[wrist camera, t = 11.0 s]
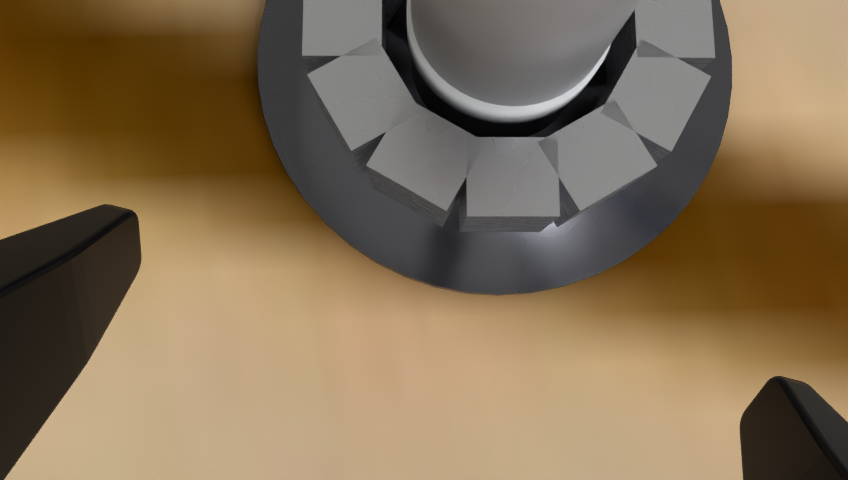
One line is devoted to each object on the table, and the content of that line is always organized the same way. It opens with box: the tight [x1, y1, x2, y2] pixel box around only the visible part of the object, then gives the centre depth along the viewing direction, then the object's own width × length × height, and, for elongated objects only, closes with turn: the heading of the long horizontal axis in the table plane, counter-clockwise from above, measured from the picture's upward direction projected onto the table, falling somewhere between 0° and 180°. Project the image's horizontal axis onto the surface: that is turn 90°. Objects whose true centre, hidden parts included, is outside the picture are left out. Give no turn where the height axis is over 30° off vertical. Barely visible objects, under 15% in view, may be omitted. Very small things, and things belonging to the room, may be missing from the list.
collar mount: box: [257, 0, 732, 295], centre depth 18 cm, size 14×14×3 cm
